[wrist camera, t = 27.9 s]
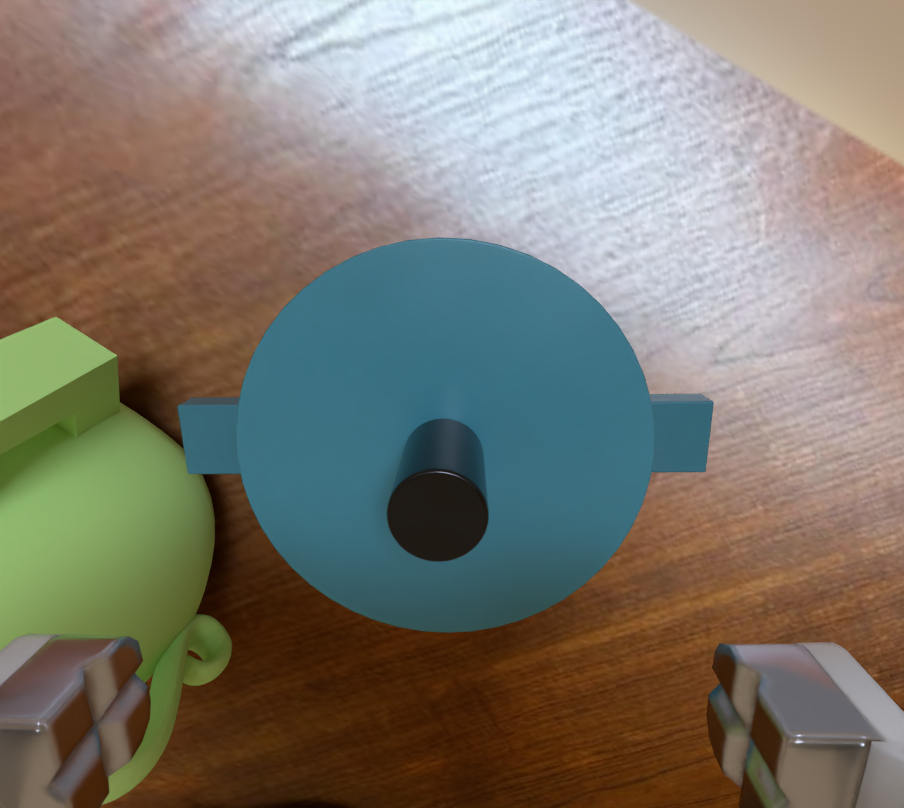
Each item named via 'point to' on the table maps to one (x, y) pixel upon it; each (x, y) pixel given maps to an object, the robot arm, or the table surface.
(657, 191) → the table surface
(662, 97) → the table surface
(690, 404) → the pot
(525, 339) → the lid
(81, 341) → the teapot
